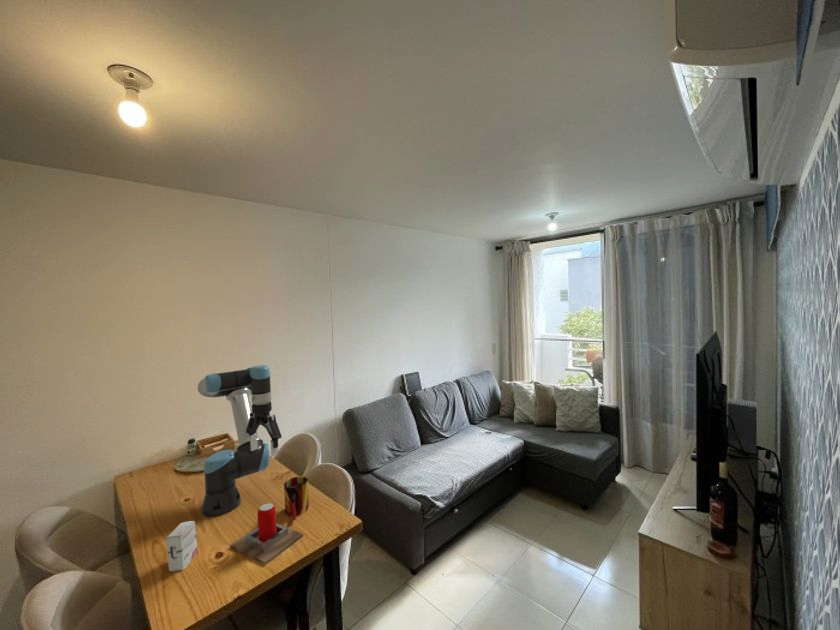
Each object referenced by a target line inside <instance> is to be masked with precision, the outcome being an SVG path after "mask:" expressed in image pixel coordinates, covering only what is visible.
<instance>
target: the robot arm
mask: <svg viewBox="0 0 840 630" xmlns="http://www.w3.org/2000/svg"><path fill="white" fill-rule="evenodd" d="M197 390H198V393H199V394H200V395H201V396H203V397H207V398H221V397H226V400H227V401H229V402H230V404H231V410H232V415H233V420H234V425H235V429H236V436H237V441H238V446H237V447H236V451H234V450H233V449H224V450H221V451H217V452H216V453H213V454H211V455H210V456H208V457H207V458H206V459H205V460H204V463H203V467H204V468H203V473H204V491H205V494H204V497H203V501H202V504H201V514H202V515H203V516H206V517H215V516H221V515H224V514H227V513H229V512H231V511H233V510H234V509H236V508H237V507H238V506H239V505H241V502H242V501H241V500H242V498H241V494H240V492H239V490H238V488H237V485H236V480H237V479H240V478H243V477H246V476H250V475H253V474H255V473H256V474H257V473H259V472H262V471H265V470H266V469H267V468H268V467H269V465H270V454H271V457H272V458H273V457H275V456H277V455H279V439H282V438H283V437H282V433H281V431H280V428H279V425H278V423H277V419H276V418H277V417H276V415H275V414H272V415H271V414H270V413H271V411H272V409H273V407H272V391H271V370H270V367H269V366H268V365H267V364H266V365H265V364H262V365H254V366H251V367H248V368H246V369H240V370H233V371H226V372H219V373H212V374H210V373H209V374H207V375H206V376H204V378H202V379H201V380H200V381H199V382H198V384H197ZM250 396H251V399H250ZM260 425H261V426H263V428H265V430H266V432H267V434H268V435H269V437H270V439H271V440H270V446H269V444H268V443H264V441H263V439H262V438H259V434H258V429H259V428H260Z"/></svg>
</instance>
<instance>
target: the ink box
mask: <svg viewBox="0 0 840 630" xmlns="http://www.w3.org/2000/svg"><path fill="white" fill-rule="evenodd" d="M195 523H196V521H195V520H188V521H183V522H181V523H179V524H178V525H177V526H176V527H175V528H174V529H173V530H172V531H171V532H170V533H169V535H168V536H166V538H165V541H166V550H167V551H166V552H167V562H168V571H169V572H177V571H184V570H185V569H186V567H187V566H188V565H189V564H190V563H191V562H192V560H193V559H194V557H195V556H196V555H197V554H198V543H197V533H196V531H197V530H196V524H195Z"/></svg>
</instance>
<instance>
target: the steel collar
mask: <svg viewBox="0 0 840 630" xmlns="http://www.w3.org/2000/svg"><path fill="white" fill-rule="evenodd" d="M277 523H278V522H276V528H277V533H276V534H274V535H273V536H271V537H270V539H268V540H267V541H265V542H262V541H260V540H258V539H257V538H258V537H259V533H258V529H257V530H255V531H253V532H252V533H250V534H249V535H247V536H246V537H245V540H246V544H248V545H250V546H252V547H254V548H256V549H258V550H260V551H262V552H265V551H266V550H268V549H269V548H271V547H272V546H273V545H275V544H276V543H277V542H279V541H280V540H282V539H283V538H284V537H286V536H287V535H288V528H289V527H288V526H285V525H283V524H281V525H279V524H280V523H278V524H277ZM282 525H283V526H282ZM284 526H285V527H284ZM287 527H288V528H287Z"/></svg>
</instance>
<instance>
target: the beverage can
mask: <svg viewBox="0 0 840 630" xmlns="http://www.w3.org/2000/svg"><path fill="white" fill-rule="evenodd" d="M276 513H277V511H276V506H275V505H274V504H273V503H265V504H262V505H261V506H259V508H258V511H257V527H258V533H259V540H260V541H262V542H265V541H267V540H268V539H270V537H271V536H273V535H274V534H276V533H277V528H276V523H277V514H276Z"/></svg>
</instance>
